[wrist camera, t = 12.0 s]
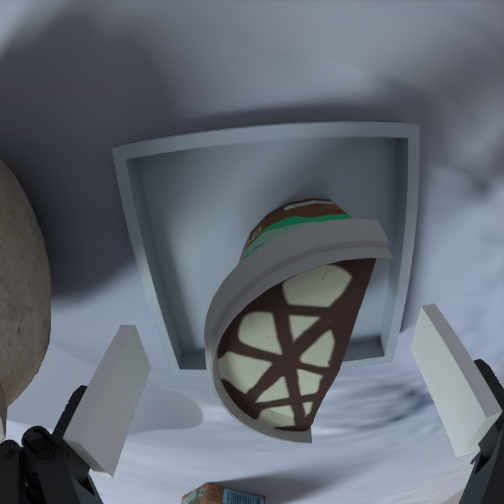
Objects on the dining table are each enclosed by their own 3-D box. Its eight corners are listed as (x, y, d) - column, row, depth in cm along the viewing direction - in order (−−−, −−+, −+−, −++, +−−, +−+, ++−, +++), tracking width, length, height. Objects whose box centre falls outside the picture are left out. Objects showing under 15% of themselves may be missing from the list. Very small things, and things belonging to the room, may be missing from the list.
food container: (233, 161, 18) (203, 213, 9) (335, 176, 18) (397, 241, 9) (217, 327, 24) (195, 438, 15) (297, 336, 24) (309, 448, 15)
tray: (179, 355, 26) (172, 375, 24) (128, 143, 19) (111, 148, 16) (383, 342, 25) (392, 361, 22) (402, 122, 17) (419, 124, 15)
